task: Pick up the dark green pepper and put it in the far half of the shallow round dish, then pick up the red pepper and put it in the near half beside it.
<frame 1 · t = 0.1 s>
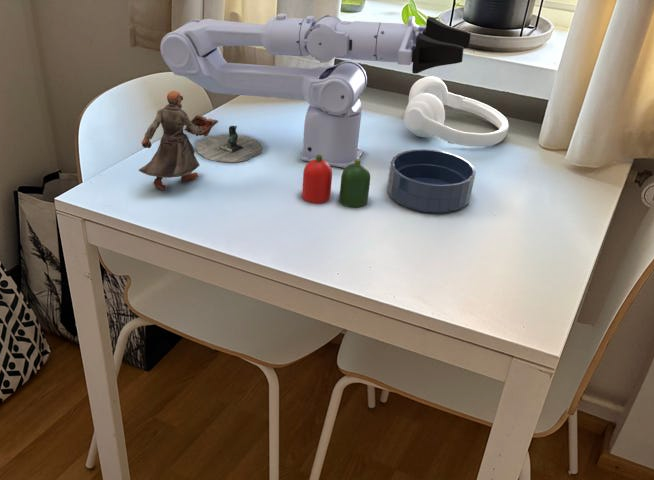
hand: (466, 47, 116), 22 cm above the table, tool horizontal, fingers open, 7 cm apart
red pepper: (316, 196, 121), on the table
green pepper: (353, 201, 121), on the table
shallow round dish: (427, 195, 124), on the table
headphones: (454, 130, 146), on the table
figurine: (179, 186, 123), on the table
sculpture: (229, 149, 135), on the table
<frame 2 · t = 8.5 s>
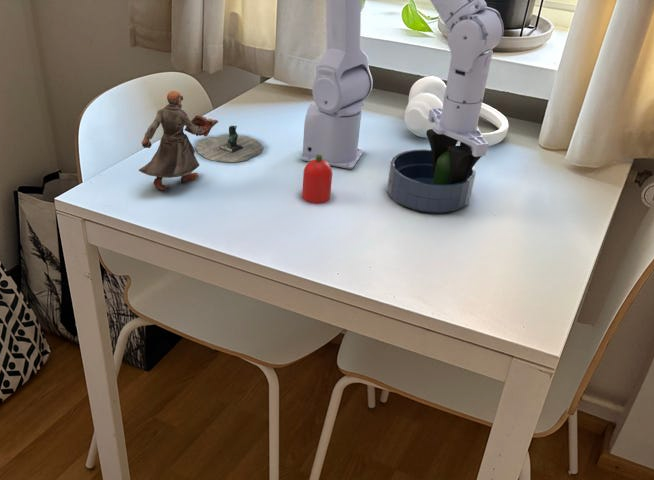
hand: (447, 180, 121), 3 cm above the table, tool pointing down, fingers closed on green pepper, 4 cm apart
green pepper: (445, 188, 122), point 2 cm above the table, touching gripper
everything else where it was.
when the fingers open (4 cm above the table, at t = 13.2 s): green pepper drops 2 cm, resting on shallow round dish.
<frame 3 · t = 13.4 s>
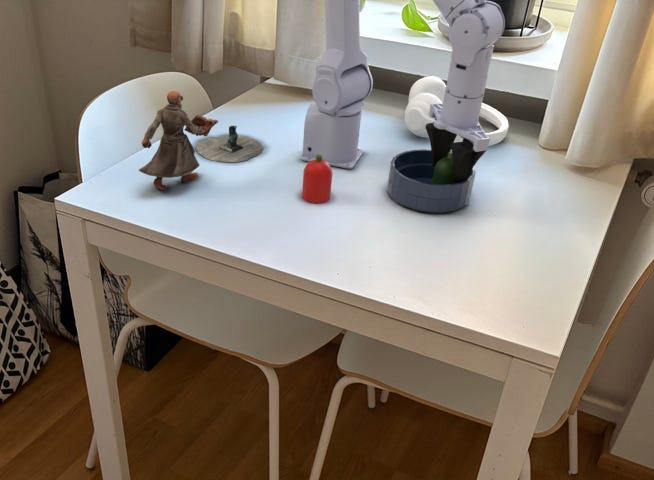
hand: (448, 176, 121), 4 cm above the table, tool pointing down, fingers open, 6 cm apart
green pepper: (445, 194, 123), point 1 cm above the table, touching shallow round dish
everything else where it was.
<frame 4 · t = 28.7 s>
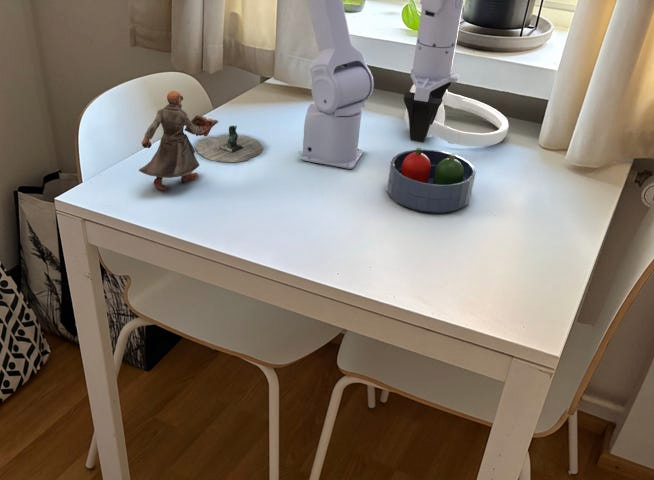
hand: (421, 131, 118), 10 cm above the table, tool pointing down, fingers open, 7 cm apart
red pepper: (412, 189, 124), resting on shallow round dish
everything else where it was.
at the end: green pepper inside the target area in the shallow round dish (2.7 cm from its centre), point 0.5 cm above the shallow round dish's base; red pepper inside the target area in the shallow round dish (2.7 cm from its centre), point 0.5 cm above the shallow round dish's base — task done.
